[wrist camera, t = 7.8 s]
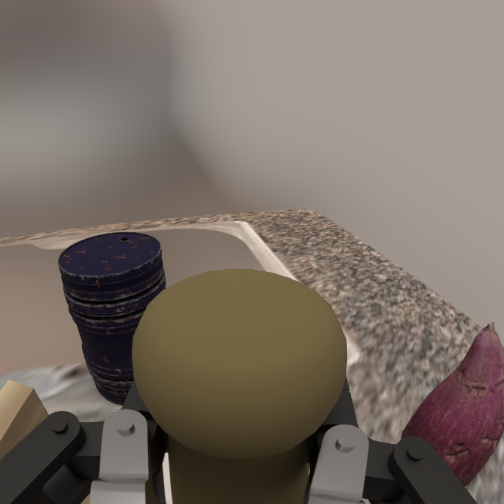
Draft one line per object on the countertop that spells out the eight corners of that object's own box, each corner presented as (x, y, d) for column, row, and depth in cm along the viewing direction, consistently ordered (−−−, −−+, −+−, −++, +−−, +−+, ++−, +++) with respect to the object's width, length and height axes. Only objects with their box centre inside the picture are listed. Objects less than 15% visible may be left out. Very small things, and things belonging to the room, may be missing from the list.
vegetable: (383, 438, 28) (397, 310, 26) (463, 417, 27) (487, 295, 25) (411, 508, 18) (454, 366, 15) (504, 472, 17) (556, 332, 14)
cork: (169, 452, 13) (124, 248, 9) (287, 440, 15) (319, 240, 10) (177, 558, 8) (67, 409, 4) (321, 539, 9) (437, 364, 5)
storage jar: (157, 418, 27) (125, 285, 21) (78, 391, 29) (35, 267, 23) (190, 356, 36) (179, 235, 30) (119, 339, 38) (97, 228, 32)
